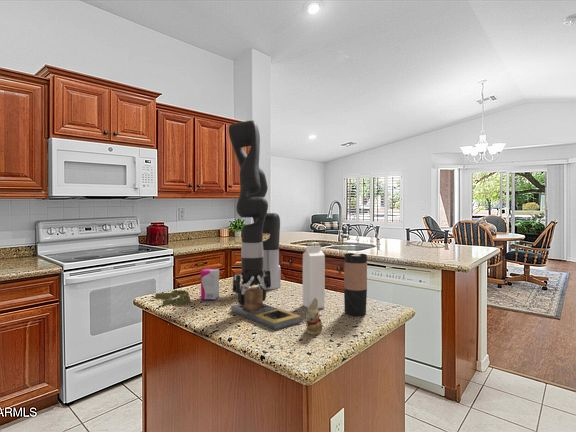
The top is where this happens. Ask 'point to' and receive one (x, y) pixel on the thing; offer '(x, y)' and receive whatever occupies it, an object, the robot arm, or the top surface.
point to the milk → (313, 276)
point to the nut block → (253, 299)
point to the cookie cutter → (181, 300)
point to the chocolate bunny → (313, 319)
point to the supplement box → (210, 284)
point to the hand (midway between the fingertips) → (252, 302)
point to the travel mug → (355, 284)
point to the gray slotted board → (268, 316)
